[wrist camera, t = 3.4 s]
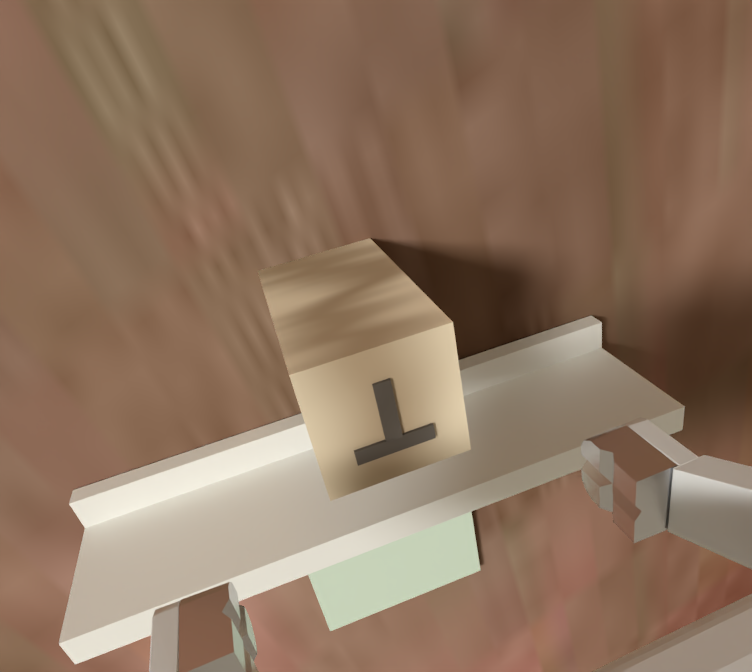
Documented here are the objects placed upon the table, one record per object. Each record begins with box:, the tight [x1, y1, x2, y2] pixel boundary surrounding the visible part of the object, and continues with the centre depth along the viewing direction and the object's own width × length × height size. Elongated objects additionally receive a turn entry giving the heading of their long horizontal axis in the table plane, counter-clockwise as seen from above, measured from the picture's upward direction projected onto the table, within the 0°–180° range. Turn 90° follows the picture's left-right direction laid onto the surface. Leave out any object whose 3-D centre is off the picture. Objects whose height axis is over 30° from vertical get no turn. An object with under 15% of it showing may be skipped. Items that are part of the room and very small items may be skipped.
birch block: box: [258, 238, 471, 501], centre depth 19 cm, size 4×4×8 cm
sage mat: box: [308, 511, 480, 631], centre depth 29 cm, size 9×9×1 cm
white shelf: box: [59, 316, 685, 664], centre depth 23 cm, size 24×4×6 cm, turn 101°
